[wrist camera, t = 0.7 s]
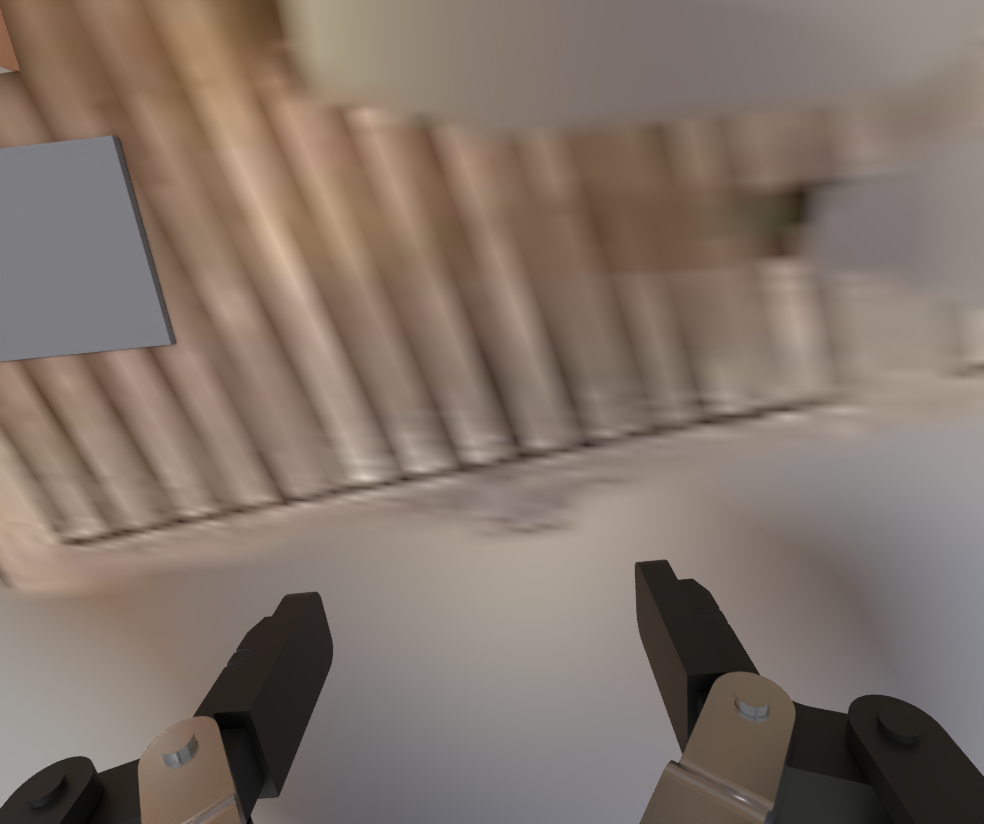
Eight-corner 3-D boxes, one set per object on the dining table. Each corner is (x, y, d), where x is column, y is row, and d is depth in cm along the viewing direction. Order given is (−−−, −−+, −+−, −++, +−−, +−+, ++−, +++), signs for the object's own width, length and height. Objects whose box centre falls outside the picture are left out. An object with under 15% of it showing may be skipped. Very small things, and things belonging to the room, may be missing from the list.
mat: (-107, 163, 36) (-117, 162, 35) (118, 137, 35) (111, 135, 34) (-27, 363, 40) (-35, 364, 39) (175, 343, 39) (171, 344, 38)
